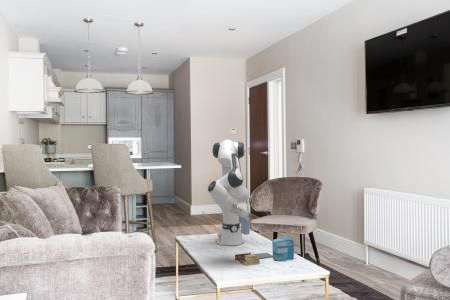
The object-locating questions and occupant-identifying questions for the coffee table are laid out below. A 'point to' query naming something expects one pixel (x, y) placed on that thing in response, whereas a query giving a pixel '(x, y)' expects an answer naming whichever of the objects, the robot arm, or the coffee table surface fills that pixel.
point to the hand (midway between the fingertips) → (246, 219)
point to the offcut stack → (250, 260)
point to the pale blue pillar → (245, 226)
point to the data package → (283, 249)
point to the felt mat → (263, 255)
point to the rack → (241, 256)
